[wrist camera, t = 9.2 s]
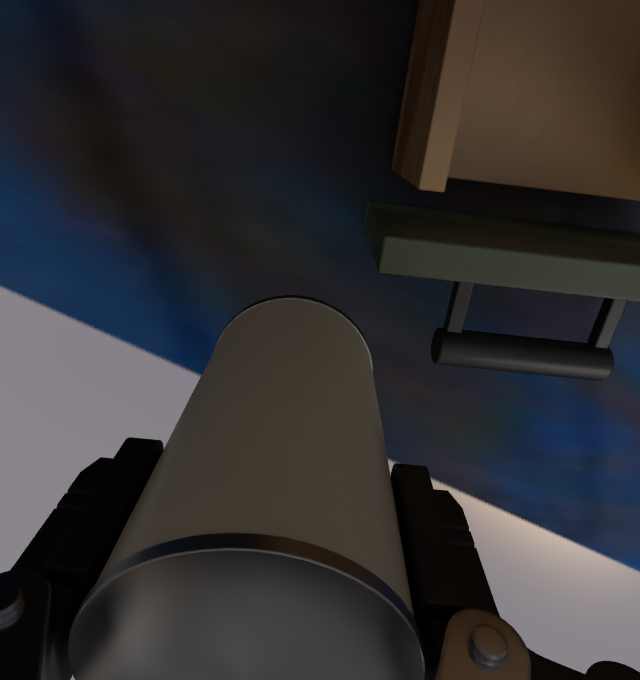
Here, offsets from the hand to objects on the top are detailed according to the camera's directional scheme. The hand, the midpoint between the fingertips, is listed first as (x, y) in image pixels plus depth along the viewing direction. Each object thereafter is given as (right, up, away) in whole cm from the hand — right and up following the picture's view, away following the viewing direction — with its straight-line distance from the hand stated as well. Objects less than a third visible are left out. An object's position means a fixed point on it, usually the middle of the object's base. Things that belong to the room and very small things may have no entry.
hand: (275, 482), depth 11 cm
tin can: (0, +2, +5) cm, 6 cm away
